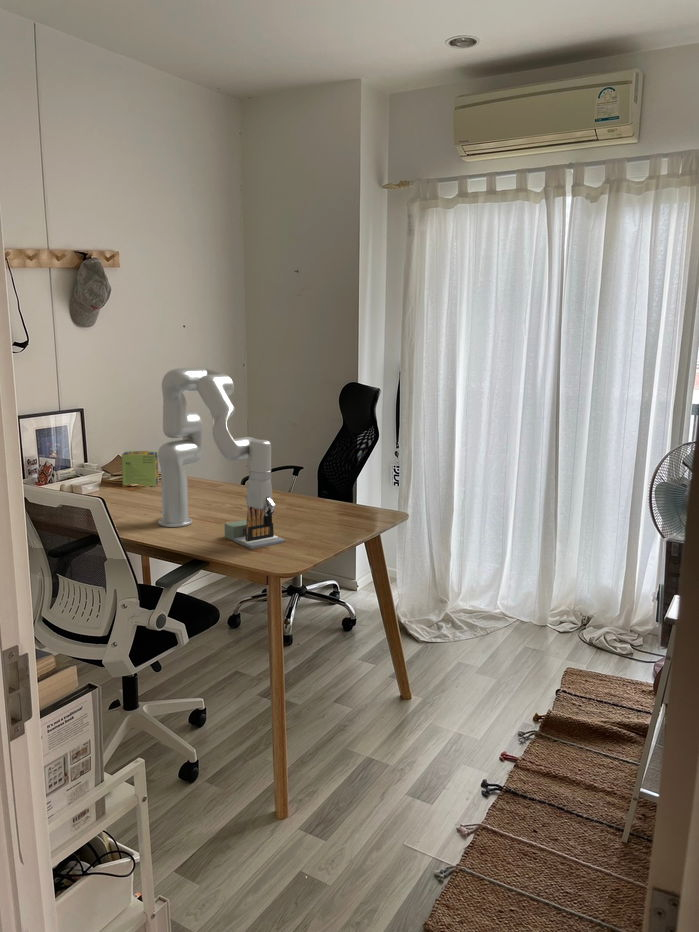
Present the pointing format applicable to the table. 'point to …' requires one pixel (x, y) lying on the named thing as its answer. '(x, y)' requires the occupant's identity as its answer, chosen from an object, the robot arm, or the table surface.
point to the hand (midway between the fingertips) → (260, 523)
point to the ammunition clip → (257, 526)
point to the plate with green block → (238, 534)
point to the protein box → (140, 468)
